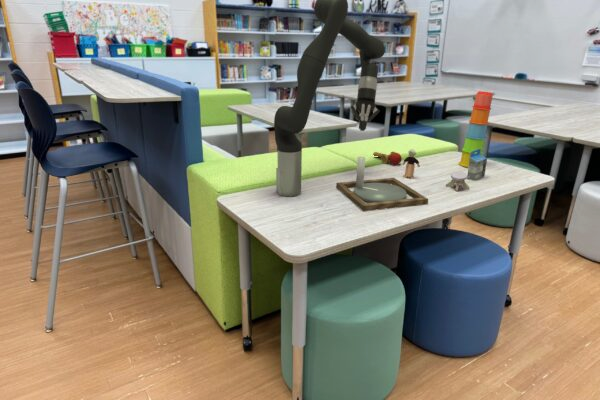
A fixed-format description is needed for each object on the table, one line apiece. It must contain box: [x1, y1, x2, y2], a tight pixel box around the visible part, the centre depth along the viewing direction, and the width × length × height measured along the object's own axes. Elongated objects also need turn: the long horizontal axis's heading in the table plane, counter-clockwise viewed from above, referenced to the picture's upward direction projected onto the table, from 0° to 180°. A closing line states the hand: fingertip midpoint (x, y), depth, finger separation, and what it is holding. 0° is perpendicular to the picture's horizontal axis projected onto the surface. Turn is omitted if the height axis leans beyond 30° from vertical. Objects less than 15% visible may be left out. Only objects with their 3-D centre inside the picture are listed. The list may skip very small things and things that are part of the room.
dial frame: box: [335, 177, 429, 212], centre depth 165 cm, size 26×26×2 cm
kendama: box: [372, 151, 403, 166], centre depth 210 cm, size 8×6×18 cm
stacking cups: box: [458, 90, 494, 168], centre depth 199 cm, size 10×10×35 cm
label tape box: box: [466, 149, 488, 181], centre depth 185 cm, size 9×4×12 cm, turn 131°
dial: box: [353, 156, 408, 203], centre depth 163 cm, size 20×20×14 cm
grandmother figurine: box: [401, 148, 421, 179], centre depth 185 cm, size 8×4×13 cm, turn 68°
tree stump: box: [445, 170, 470, 192], centre depth 174 cm, size 10×9×6 cm
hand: (362, 130), depth 178 cm, fingers closed
